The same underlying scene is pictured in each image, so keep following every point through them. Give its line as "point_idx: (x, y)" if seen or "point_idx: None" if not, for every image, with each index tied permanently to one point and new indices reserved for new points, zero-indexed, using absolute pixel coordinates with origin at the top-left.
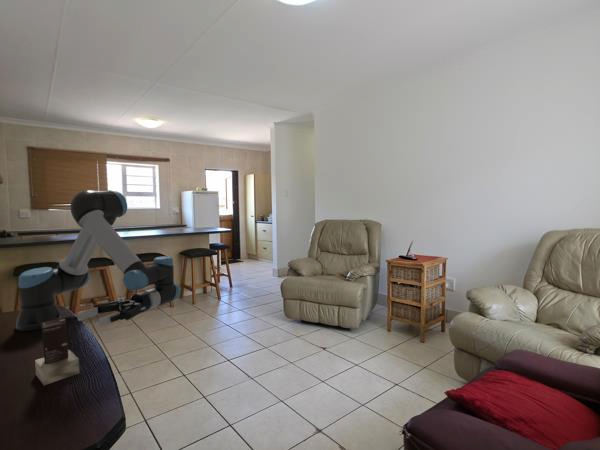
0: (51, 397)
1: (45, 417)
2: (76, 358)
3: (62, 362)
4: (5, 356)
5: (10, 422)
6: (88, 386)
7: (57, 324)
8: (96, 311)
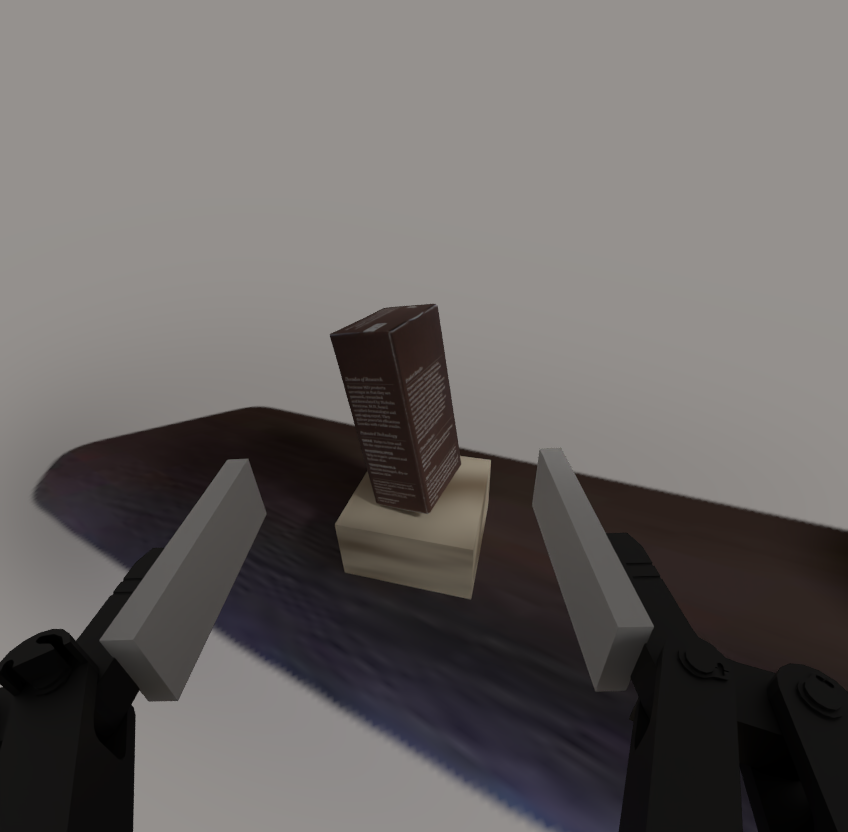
0: (303, 474)
1: (245, 444)
2: (344, 520)
3: (369, 486)
4: (778, 515)
5: (308, 420)
6: None
7: (355, 322)
8: (600, 643)
